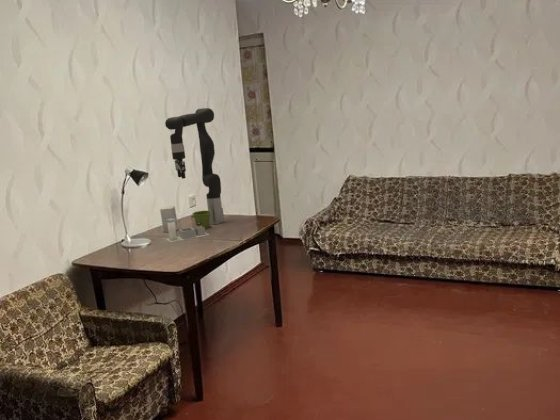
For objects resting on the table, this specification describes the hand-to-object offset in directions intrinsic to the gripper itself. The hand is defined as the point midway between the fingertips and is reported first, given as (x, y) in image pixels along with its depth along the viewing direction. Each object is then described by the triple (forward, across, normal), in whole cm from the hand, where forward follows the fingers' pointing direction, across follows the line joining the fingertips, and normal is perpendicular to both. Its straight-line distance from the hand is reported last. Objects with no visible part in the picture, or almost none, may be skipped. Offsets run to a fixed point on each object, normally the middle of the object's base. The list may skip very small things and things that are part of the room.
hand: (181, 177), depth 319 cm
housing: (+35, -12, +4) cm, 38 cm away
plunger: (+34, -12, -4) cm, 36 cm away
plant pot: (+36, +5, -11) cm, 38 cm away
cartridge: (+34, -12, +13) cm, 38 cm away
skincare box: (+36, +18, +7) cm, 41 cm away
